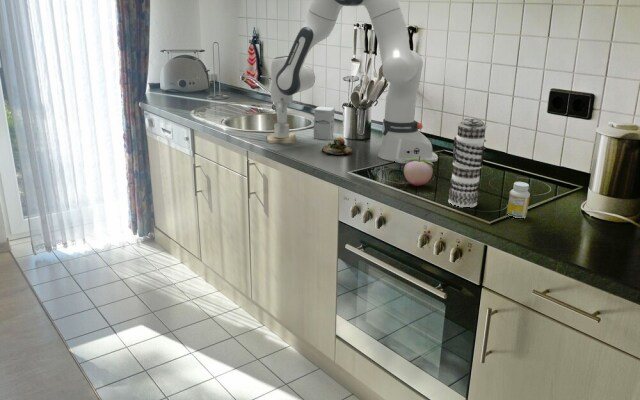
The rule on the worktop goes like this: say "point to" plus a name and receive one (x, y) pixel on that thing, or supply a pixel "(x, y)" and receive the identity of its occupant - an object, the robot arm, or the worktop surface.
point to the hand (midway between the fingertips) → (281, 130)
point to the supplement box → (323, 123)
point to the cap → (277, 131)
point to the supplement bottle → (518, 200)
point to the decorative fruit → (418, 171)
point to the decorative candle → (467, 163)
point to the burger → (337, 147)
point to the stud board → (281, 140)
